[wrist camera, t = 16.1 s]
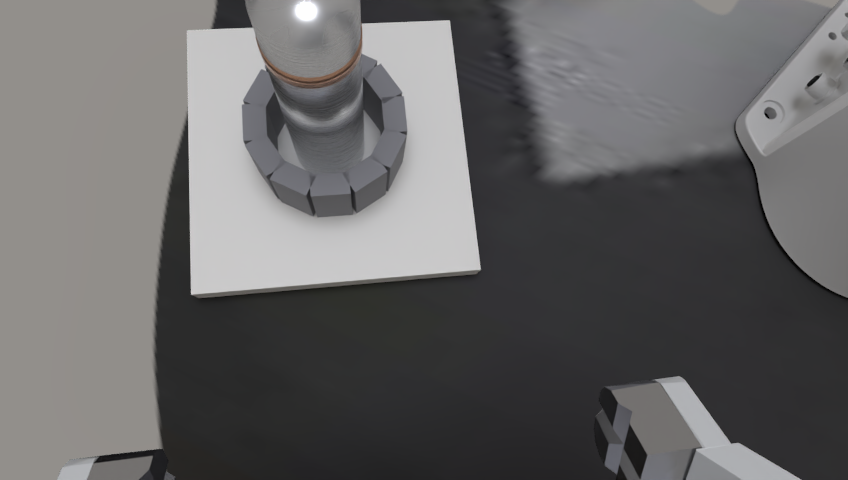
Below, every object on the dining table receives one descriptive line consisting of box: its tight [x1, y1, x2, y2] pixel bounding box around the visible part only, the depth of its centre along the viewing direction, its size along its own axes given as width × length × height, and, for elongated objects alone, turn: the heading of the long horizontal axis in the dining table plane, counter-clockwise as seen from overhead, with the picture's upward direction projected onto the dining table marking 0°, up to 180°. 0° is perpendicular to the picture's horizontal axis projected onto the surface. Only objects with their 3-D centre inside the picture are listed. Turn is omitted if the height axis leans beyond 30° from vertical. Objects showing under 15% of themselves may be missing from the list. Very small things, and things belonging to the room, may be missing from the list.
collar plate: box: [187, 20, 481, 298], centre depth 33 cm, size 16×16×6 cm
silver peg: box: [245, 0, 365, 174], centre depth 27 cm, size 4×4×14 cm
